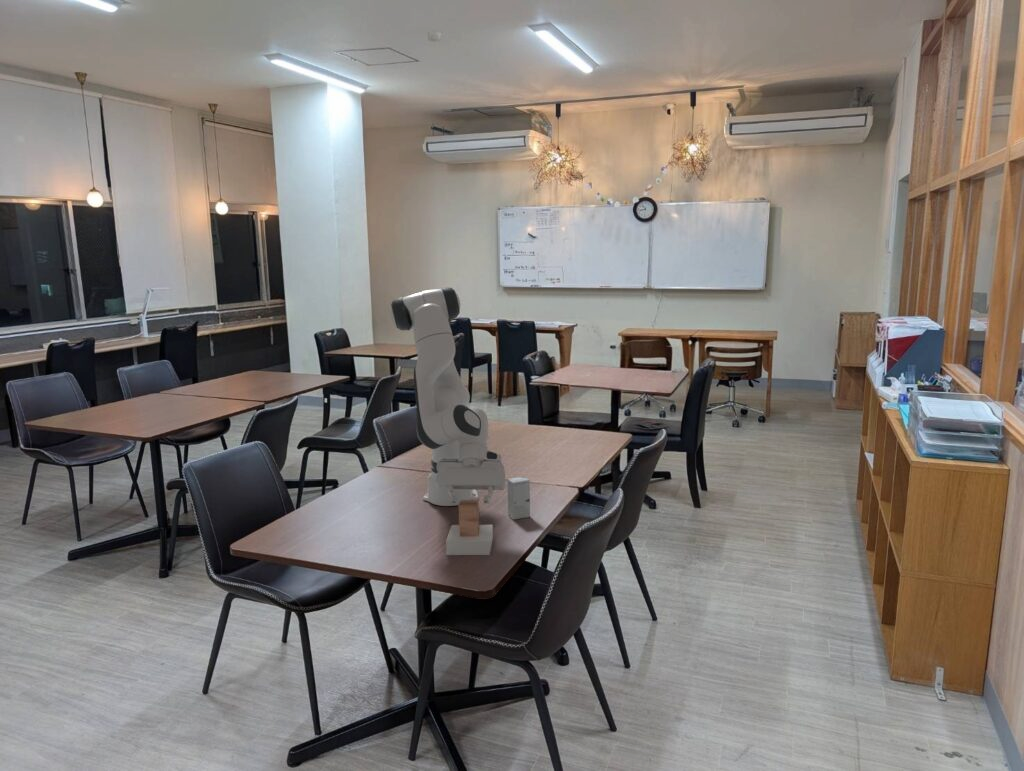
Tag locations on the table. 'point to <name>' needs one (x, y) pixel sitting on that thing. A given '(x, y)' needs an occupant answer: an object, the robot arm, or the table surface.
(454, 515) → the table surface
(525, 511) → the skincare box
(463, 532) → the terracotta block
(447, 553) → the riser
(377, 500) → the table surface
